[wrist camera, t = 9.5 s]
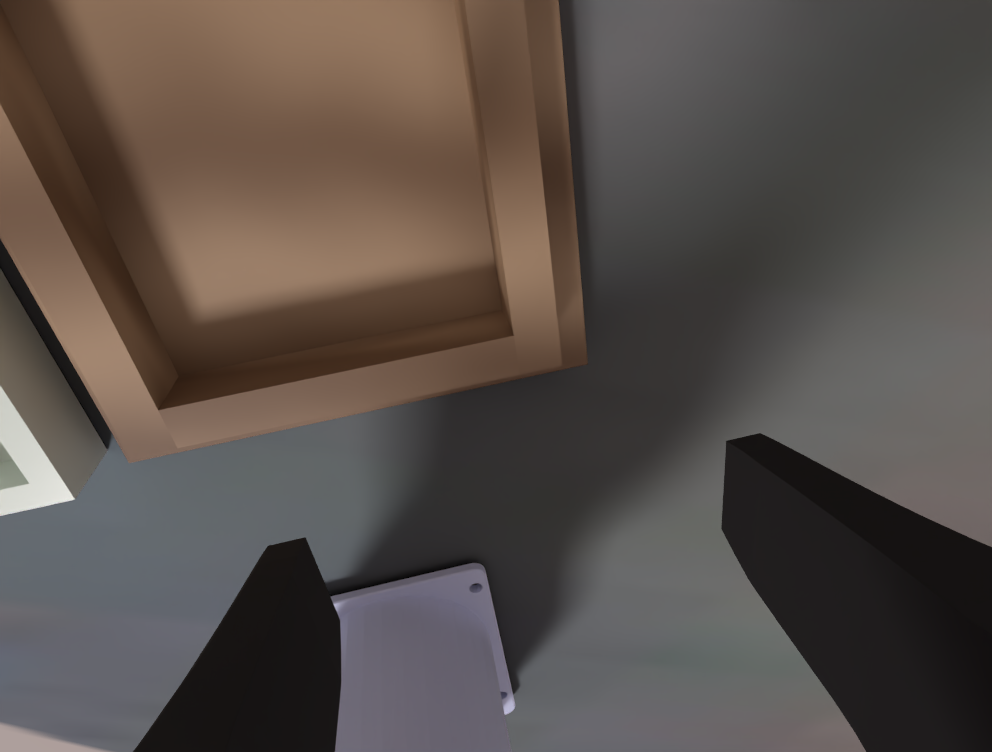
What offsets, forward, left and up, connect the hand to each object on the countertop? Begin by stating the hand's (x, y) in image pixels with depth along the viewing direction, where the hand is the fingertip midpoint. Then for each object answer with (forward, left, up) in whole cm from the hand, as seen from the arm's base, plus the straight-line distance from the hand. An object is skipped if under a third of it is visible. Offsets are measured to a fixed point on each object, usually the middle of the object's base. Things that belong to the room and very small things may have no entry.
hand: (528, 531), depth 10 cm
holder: (+5, +4, -9) cm, 11 cm away
